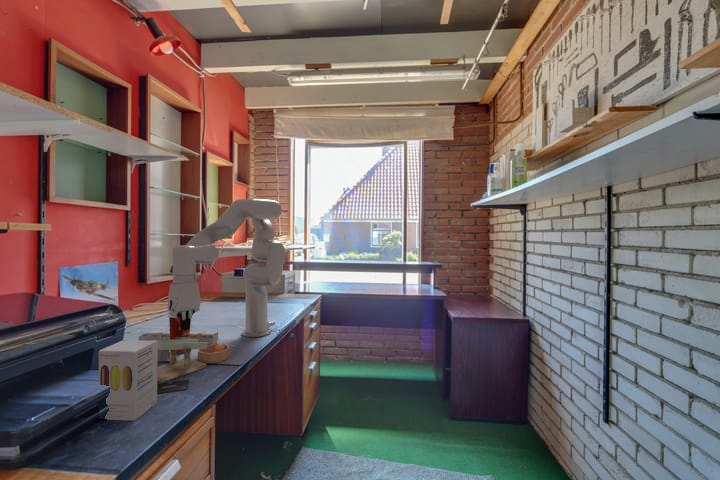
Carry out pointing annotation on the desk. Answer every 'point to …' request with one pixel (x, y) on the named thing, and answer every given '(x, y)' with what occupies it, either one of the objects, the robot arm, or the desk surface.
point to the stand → (178, 366)
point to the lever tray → (177, 346)
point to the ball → (219, 348)
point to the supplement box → (129, 378)
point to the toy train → (200, 336)
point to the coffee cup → (177, 330)
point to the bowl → (213, 354)
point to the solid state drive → (172, 386)
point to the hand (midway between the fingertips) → (185, 329)
